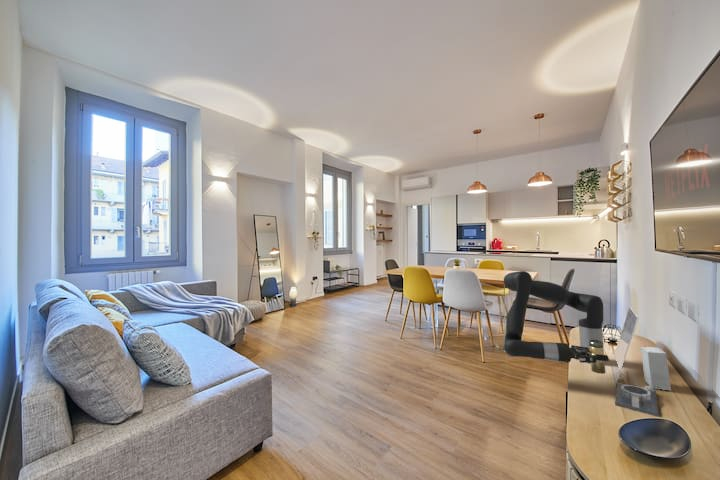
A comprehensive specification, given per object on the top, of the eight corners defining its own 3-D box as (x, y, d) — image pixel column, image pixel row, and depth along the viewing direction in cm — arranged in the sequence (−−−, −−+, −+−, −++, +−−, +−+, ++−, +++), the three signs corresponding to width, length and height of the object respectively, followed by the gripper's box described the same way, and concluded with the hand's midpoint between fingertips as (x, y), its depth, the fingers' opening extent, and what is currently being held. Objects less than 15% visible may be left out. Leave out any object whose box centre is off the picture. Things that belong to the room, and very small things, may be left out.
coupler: (591, 368, 120) (589, 339, 120) (606, 370, 117) (603, 341, 117) (590, 371, 117) (588, 342, 117) (605, 374, 113) (602, 344, 114)
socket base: (617, 385, 119) (617, 376, 119) (655, 393, 111) (655, 384, 111) (615, 405, 105) (614, 395, 105) (658, 416, 97) (657, 406, 97)
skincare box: (671, 391, 112) (668, 353, 113) (650, 388, 115) (647, 351, 116) (662, 382, 119) (659, 347, 120) (642, 380, 122) (640, 345, 123)
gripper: (558, 348, 116) (612, 352, 109) (551, 337, 129) (598, 341, 122) (560, 367, 116) (613, 372, 109) (552, 354, 129) (600, 358, 122)
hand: (605, 355), depth 116 cm, fingers closed on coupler, 4 cm apart
